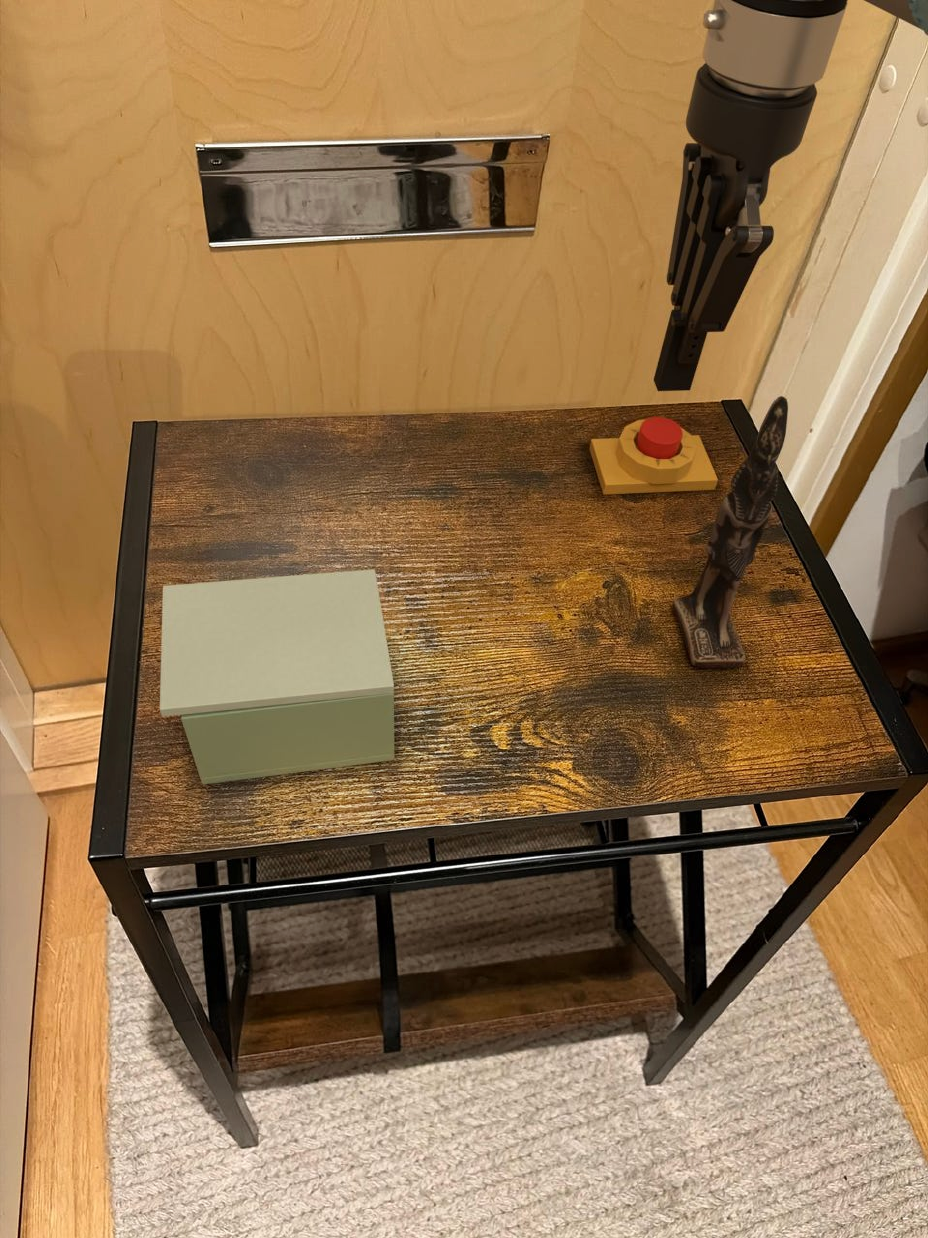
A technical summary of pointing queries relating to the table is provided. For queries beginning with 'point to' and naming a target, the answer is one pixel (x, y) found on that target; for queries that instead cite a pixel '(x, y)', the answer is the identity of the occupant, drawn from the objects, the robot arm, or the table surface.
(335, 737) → the hatch box
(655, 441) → the button
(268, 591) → the hatch lid
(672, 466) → the button block
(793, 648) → the table surface
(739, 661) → the statue
